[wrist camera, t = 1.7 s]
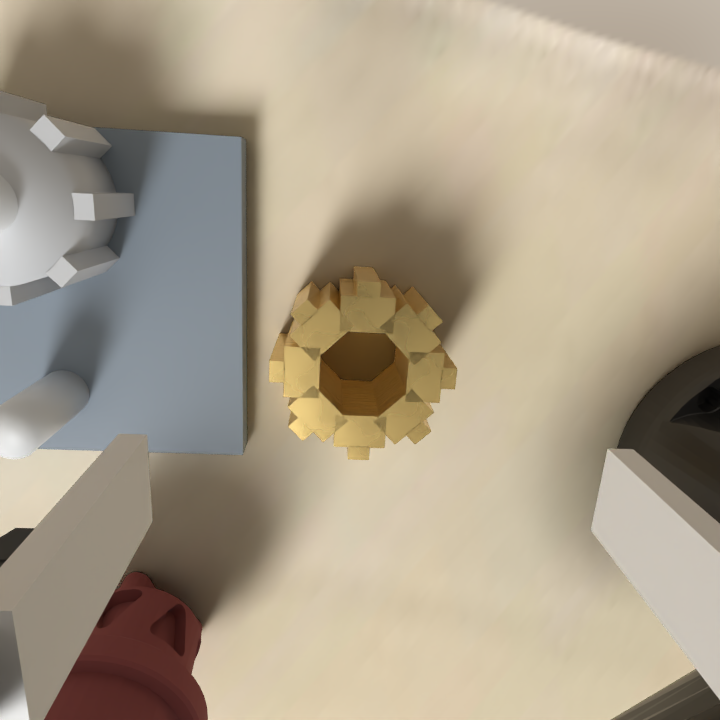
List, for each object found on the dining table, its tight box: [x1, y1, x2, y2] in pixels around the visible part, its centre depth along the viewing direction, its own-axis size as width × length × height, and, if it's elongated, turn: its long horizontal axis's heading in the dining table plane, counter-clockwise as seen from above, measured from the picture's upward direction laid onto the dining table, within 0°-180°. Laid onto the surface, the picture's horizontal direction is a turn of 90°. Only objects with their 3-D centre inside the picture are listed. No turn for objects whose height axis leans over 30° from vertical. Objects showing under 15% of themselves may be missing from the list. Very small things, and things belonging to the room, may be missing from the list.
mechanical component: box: [44, 572, 208, 720], centre depth 28 cm, size 12×10×10 cm
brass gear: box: [269, 266, 457, 460], centre depth 27 cm, size 8×8×5 cm
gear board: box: [0, 91, 247, 459], centre depth 25 cm, size 16×17×7 cm
